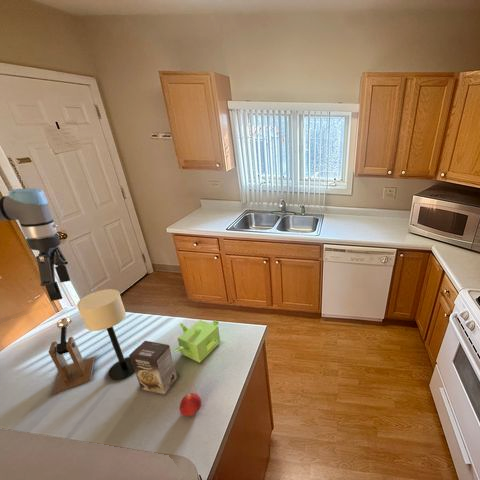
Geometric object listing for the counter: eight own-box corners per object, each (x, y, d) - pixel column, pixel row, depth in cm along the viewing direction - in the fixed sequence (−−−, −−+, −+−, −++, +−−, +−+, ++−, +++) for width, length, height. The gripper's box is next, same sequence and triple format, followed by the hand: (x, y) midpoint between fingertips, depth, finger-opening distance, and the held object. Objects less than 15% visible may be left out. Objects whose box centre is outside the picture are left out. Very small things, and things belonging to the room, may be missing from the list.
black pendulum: (59, 323, 87) (55, 318, 85) (73, 319, 89) (69, 314, 87) (57, 356, 81) (52, 352, 79) (72, 351, 83) (68, 347, 80)
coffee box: (140, 391, 83) (127, 355, 76) (155, 374, 89) (144, 339, 82) (165, 396, 82) (154, 360, 75) (178, 378, 88) (169, 344, 81)
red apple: (185, 426, 74) (180, 409, 71) (179, 411, 78) (174, 393, 75) (205, 413, 78) (201, 396, 74) (199, 399, 81) (195, 382, 78)
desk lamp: (103, 372, 88) (72, 299, 76) (135, 354, 96) (112, 285, 83) (113, 389, 83) (82, 314, 71) (147, 368, 91) (124, 297, 78)
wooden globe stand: (62, 369, 89) (46, 338, 83) (95, 359, 93) (82, 328, 87) (54, 395, 80) (35, 362, 74) (91, 382, 85) (76, 350, 79)
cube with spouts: (179, 372, 90) (173, 348, 85) (180, 343, 102) (175, 321, 97) (224, 358, 96) (220, 336, 91) (220, 333, 108) (217, 312, 103)
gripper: (47, 247, 77) (68, 305, 85) (65, 223, 96) (80, 272, 104) (11, 251, 73) (36, 311, 81) (37, 226, 92) (55, 276, 100)
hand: (61, 289), depth 92 cm, fingers open, 13 cm apart
